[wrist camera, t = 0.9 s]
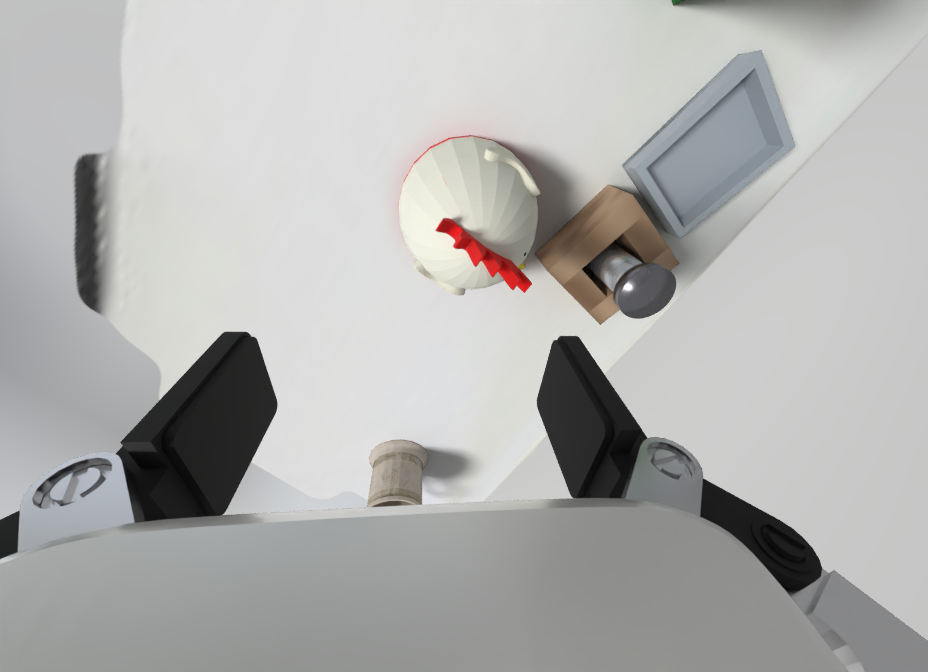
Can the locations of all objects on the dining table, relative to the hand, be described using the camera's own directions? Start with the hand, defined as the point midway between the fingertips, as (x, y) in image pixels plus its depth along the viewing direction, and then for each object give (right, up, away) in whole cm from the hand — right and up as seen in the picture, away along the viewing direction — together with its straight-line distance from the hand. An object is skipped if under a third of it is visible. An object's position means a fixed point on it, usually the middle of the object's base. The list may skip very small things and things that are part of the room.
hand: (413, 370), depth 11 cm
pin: (+17, +11, +27) cm, 34 cm away
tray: (+25, +20, +23) cm, 39 cm away
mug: (-10, -22, +47) cm, 53 cm away
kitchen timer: (+2, +14, +24) cm, 28 cm away
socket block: (+17, +11, +27) cm, 34 cm away
